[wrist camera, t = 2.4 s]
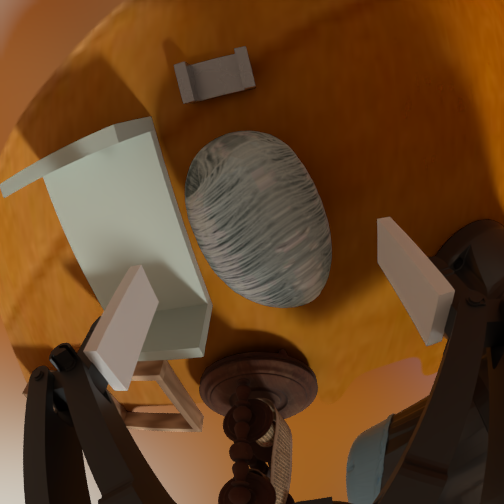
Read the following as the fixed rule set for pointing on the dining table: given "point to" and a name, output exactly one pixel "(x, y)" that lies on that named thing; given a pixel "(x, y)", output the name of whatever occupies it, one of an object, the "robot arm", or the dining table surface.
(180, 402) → the frame
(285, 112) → the dining table surface
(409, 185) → the dining table surface
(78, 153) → the holder
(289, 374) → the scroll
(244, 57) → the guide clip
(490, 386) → the robot arm
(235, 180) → the grey oval rock
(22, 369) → the dining table surface
